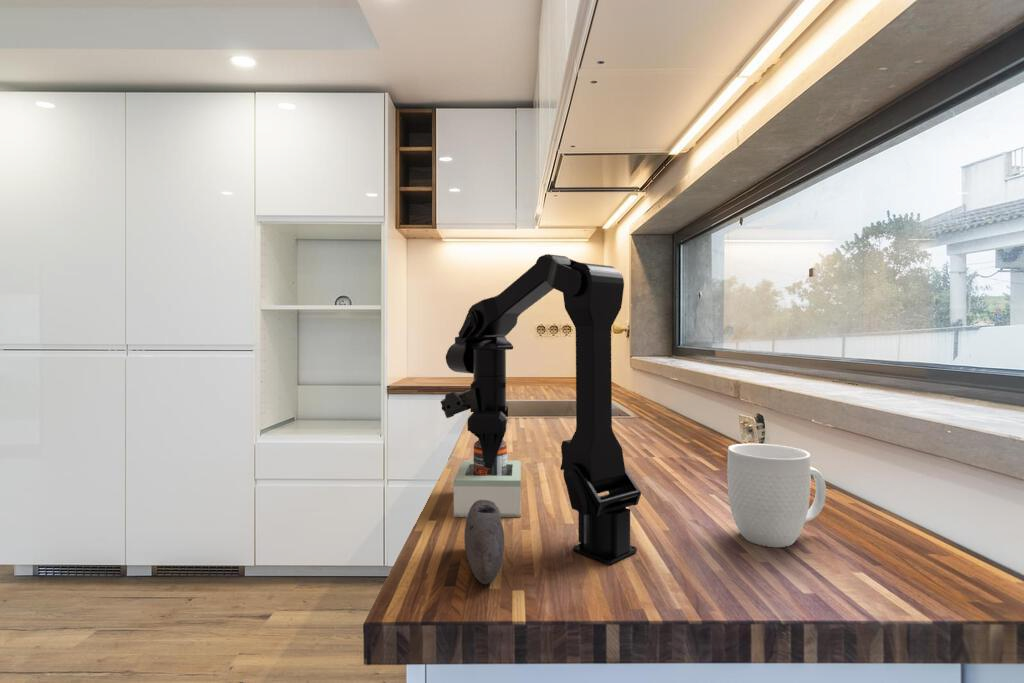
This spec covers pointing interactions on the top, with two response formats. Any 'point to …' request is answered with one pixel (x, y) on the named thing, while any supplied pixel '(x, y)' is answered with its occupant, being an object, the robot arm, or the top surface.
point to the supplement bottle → (498, 466)
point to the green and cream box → (488, 489)
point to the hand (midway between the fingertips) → (490, 463)
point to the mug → (772, 492)
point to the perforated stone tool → (484, 540)
